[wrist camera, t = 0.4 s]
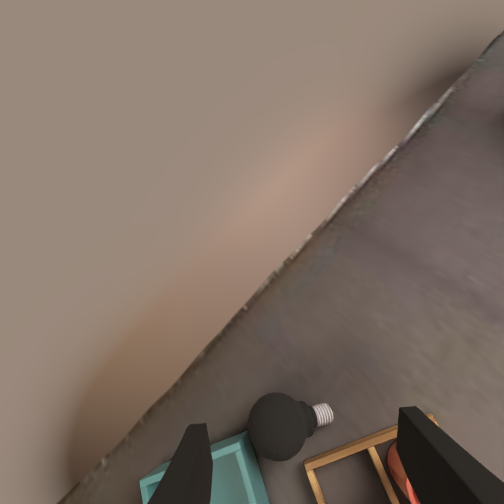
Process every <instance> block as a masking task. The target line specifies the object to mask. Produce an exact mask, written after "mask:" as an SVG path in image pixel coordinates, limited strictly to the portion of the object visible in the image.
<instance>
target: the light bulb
mask: <svg viewBox="0 0 504 504" xmlns="http://www.w3.org/2000/svg"><path fill="white" fill-rule="evenodd" d="M330 423H331V424H332V423H333V411H332V410H331V408H330V407H329V406H328V404H326V403H321V404H318V405H313V406H307V405H306V403H305V402H303V401H300V402H296V401H295V400H294V399H292V398H291V397H289V396H287V395H285V394H281V393H270V394H267V395H265V396H263V397H262V398H260V399H259V400H258V401H257V402H256V403H255V404H254V406H253V408H252V409H251V412H250V415H249V420H248V432H249V436H250V440H251V442H252V444H253V446H254V447H255V449H256V450H257V451H258V452H259V453H260V454H261V455H262V456H263V457H265V458H267V459H269V460H272V461H285V460H288V459H290V458H292V457H293V456H295V455H296V454H297V453H298V452H299V451H300V450H301V448H302V446H303V444H304V442H305V439H306V438H307V437H311V436H312V435H313V432H314V428H316V427H317V426H318V427H319V426H322V425H327V424H330Z"/></svg>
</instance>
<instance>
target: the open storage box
mask: <svg viewBox="0 0 504 504" xmlns="http://www.w3.org/2000/svg"><path fill="white" fill-rule="evenodd" d="M210 448H211V454H212V460H213V474H212V489H211V500H210V504H270V502H269V499H268V496H267V492H266V489H265V486H264V483H263V479H262V476H261V473H260V469H259V466H258V463H257V460H256V456H255V453H254V450H253V447H252V443H251V440H250V437H249V433H248V431H245V432H243V433H240V434H238V435H235V436H233V437H230V438H227V439H225V440H222V441H220V442H217V443H215V444H212V445H210ZM170 462H171V461H168V462H166V463H163V464H161V465H160V466H158V467H157V468H156V469H154V470H153V471H152V472H150V473H149V474H148V475H146V476H145V477H143V478H142V479H141V480H140V481H139V483H140V488H141V495H142V501H143V504H147V503H148V501H149V500H150V498H151V496H152V495H153V493H154V491H155V489H156V488H157V486H158V484H159V482H160V481H161V479H162V477H163V475H164V473H165V471H166V470H167V468H168V466H169V464H170Z"/></svg>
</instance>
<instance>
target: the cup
mask: <svg viewBox="0 0 504 504" xmlns="http://www.w3.org/2000/svg"><path fill="white" fill-rule="evenodd" d="M396 441H397V440H396ZM396 441H395V442H394V443H393V444H392V445H391V447H390V449H389V452H388V458H387V460H388V467H389V471H390V473H391V476H392V477H393V479H394V480H395V482H396V483H397V485H398V486H399V488H400V489H401V490H402V492H403V493H404V494H405V496H406V497H407V498H408V500H409V501H410V503H411V504H420V502H419V500H418V498H417V496H416V494H415V492H414V490H413V488H412V486H411V484H410V482H409V480H408V478H407V475H406V473H405V470H404V468H403V466H402V463H401V461H400V458H399V456H398V453H397V451H396Z"/></svg>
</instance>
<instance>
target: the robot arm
mask: <svg viewBox="0 0 504 504" xmlns="http://www.w3.org/2000/svg"><path fill="white" fill-rule="evenodd" d="M396 451H397V453H398V456H399V458H400V461H401V463H402V466H403V468H404V470H405V473H406V475H407V478H408V480H409V482H410V484H411V486H412V488H413V490H414V492H415V494H416V496H417V498H418V500H419V502H420V504H504V482H502V481H501V480H500V479H499V478H497V477H496V476H495V475H494V474H492V473H491V472H490V471H489V470H488V469H486V468H485V467H484V466H483V465H482V464H481V463H479V462H478V461H477V460H476V459H475V458H474V457H472V456H471V455H470V454H469V453H468V452H467V451H465V450H464V449H463V448H462V447H461V446H460V445H459V444H457V443H456V442H455V441H454V440H453V439H452V438H451V437H450V436H448V435H447V434H446V433H445V432H444V431H443V430H442V429H441V428H440V427H438V426H437V425H436V424H435V423H434V422H433V421H432V420H431V419H430V418H428V417H427V416H426V415H425V414H424V413H423V412H422V411H421V410H420V409H418V408H417V407H416V406H413V407H401V408H399V418H398V429H397V441H396ZM212 474H213V460H212V454H211V448H210V443H209V437H208V431H207V426H206V423H203V424H191V425H189V426H188V427H187V429H186V431H185V434H184V436H183V438H182V440H181V442H180V444H179V446H178V448H177V450H176V452H175V454H174V456H173V458H172V460H171V462H170V464H169V466H168V468H167V470H166V471H165V473H164V475H163V477H162V479H161V481H160V482H159V484H158V486H157V488H156V489H155V491H154V493H153V495H152V496H151V498H150V500H149V501H148V503H147V504H210V500H211V489H212Z"/></svg>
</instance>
